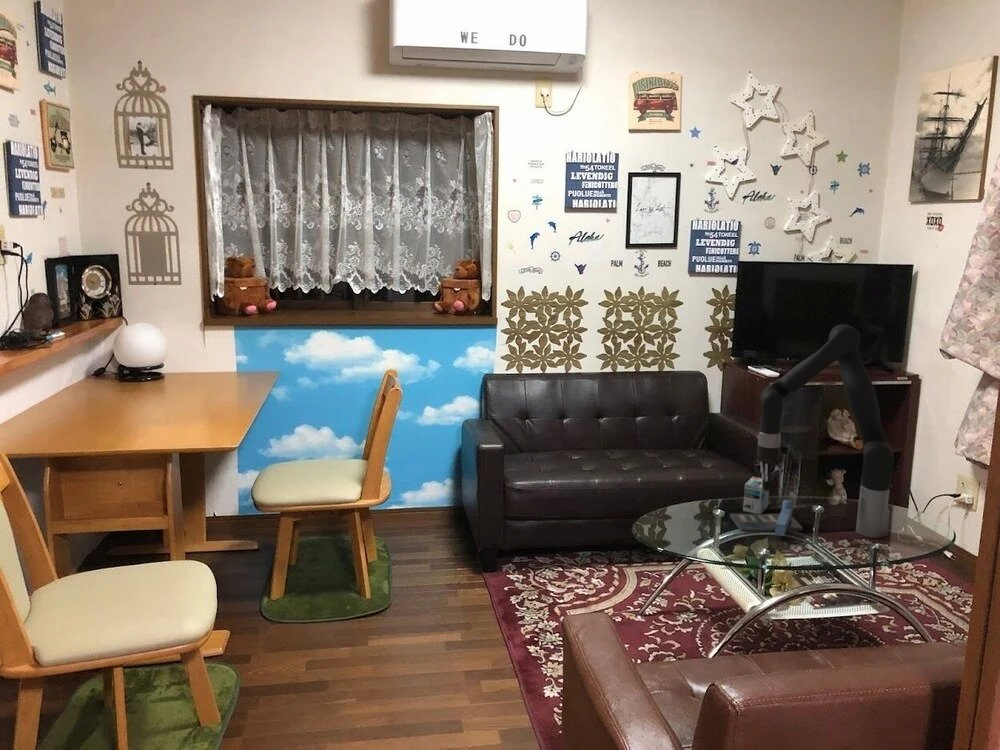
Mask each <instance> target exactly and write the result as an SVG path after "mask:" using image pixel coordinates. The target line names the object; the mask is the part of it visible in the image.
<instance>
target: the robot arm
mask: <svg viewBox="0 0 1000 750" xmlns="http://www.w3.org/2000/svg"><path fill="white" fill-rule="evenodd" d="M860 344H861V334H860V332H859V331H858V330H857V329H856V328H854V326H852V325H849V324H845V323H843V324H842V323H840V324H838V325H835V326H834V327H833V328H832V329H831V330H830V332H829V336H828V341H827V342H826V343H824V345H823V346H822V347H821V348H820V349H818V350H817V351H816V352H814V353H812V355H810V356H808V357H807V358H805V359H803V360H802V361H801V362H798V363H797V364H796V365H795V366H794V367H792V368H791V369H790V370H789V371H787V372H786V373H785V374H784V375H783V376H781V378H779V379H777V380H776V381H774V382H771V384H769V385H767V386H766V387H765V388H764V389H763V390H762V391H761V393H760V394H759V395H760V396H759V397H760V398H759V399H760V403H761V407H762V410H761V416H760V419H759V430H758V437H757V456H758V458H757V459H756V460H755V461H753V462H752V464H753V466H754V467H753V468H754V469H755V471H756V473H757V477H758V478H762V480H763V481H762V488H763V490H765V491H769V492H770V490H771V489H772V482H773V481H777V479H778V478H779V477H780V476H781V475H782V474H783V473H784V470H783V469H782V468H780V467H779V462H778V459H780V452H781V439H782V438H781V426H782V424H781V419H782V418H781V417H782V415H783V409H784V408H783V407H784V399H785V398H786V397H787V396H789V395H791V394H795V393H797V392H798V391H799V390H800V389H802V388H803V387H804V386H806V385H807V384H808V383H809V382H810V381H811V380H813V379H814V378H815V377H816V376H818V375H819V374H820V373H821V372H822V371H823V370H825V369H826V368H827V367H829V366H830V365H833V363H835V362H837V364H838V367H839V370H840V371H839V372H840V375H841V381H842V385H843V389H844V393H845V397H846V401H847V403H848V408H849V410H850V412H851V414H852V417H853V418H854V421H855V422H856V424H857V427H858V430H859V433H860V436H861V441H862V448H863V449H862V450H863V461H862V472H861V477H860V488H859V498H858V505H857V516H856V525H855V526H856V527H855V532H856V533H857V534H859V535H861V536H863V537H866V538H871V539H872V538H873V539H878V538H879V539H880V538H883V537H887V536H888V533H889V520H890V514H891V511H890V509H889V497H890V488H891V483H892V478H893V477H892V476H893V469H894V468H893V467H894V463H895V462H894V460H895V458H894V451H893V448H892V446H891V444H890V442H889V440H888V437H887V434H886V433H885V430H884V427H883V425H882V419H881V411H880V407H879V401H878V398H877V394H876V390H875V388H874V384H873V382H872V380H871V377H870V375H869V373H868V372H867V370H866V367H865V366H864V363H863V360H862V358H861V355H860V350H859V346H860Z"/></svg>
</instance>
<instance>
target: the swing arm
mask: <svg viewBox="0 0 1000 750" xmlns="http://www.w3.org/2000/svg"><path fill="white" fill-rule="evenodd" d="M781 505H782V506H781V510H780V513H779V514H780V515H779V517H778V519H777V522H776V527H775V531H774V535H777V536H783V537H785V534H786V533H787V531H786V530H787V527H788V524H789V522H790V519H792V517H793V508H794V507H793V506H794V502H793V501H792V500H790V499H783V500H782V504H781Z"/></svg>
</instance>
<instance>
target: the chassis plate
mask: <svg viewBox="0 0 1000 750" xmlns="http://www.w3.org/2000/svg"><path fill="white" fill-rule="evenodd" d="M779 515H780V513H761V514H756V513H730V514H729V518H731V520H732V522H734V525H736V527H737V528H738V529H739V531H740V530H747V532H751V531H752V532H758V531H759V532H771V531H773V532H775V527H776V522H777V519H778V517H779ZM803 530H804V527H803V525H801V524H800V523H799V521H797V519H795V518H794V517H793V516H792V519H790V522H789V524H788V527H787V530H786V532H789V531H790V532H794V531H795V532H796V531H797V532H798V531H799V532H803Z"/></svg>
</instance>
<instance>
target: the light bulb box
mask: <svg viewBox="0 0 1000 750" xmlns="http://www.w3.org/2000/svg"><path fill="white" fill-rule="evenodd" d="M762 481H763V480H762V478H761V477H758V476H757V477H756V476H752V477H751V478H750V479H749V480H748V481H747V482H745V484H744V490H743V491H744V492H743V493H744V494H743V507H742V511H743V512H746V513H750V514H763V512H764V511H765V510H766V509H767V508H769V507H768V506H769V493H770V490H769V491H765V490H763V488H762Z"/></svg>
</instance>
